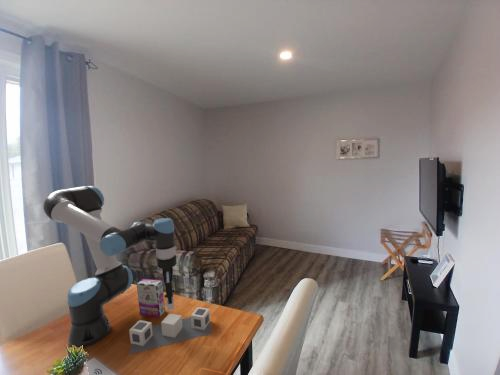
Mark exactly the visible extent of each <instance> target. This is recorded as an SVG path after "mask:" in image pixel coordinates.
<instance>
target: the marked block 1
mask: <svg viewBox="0 0 500 375" xmlns="http://www.w3.org/2000/svg"><path fill="white" fill-rule="evenodd" d="M152 326H153V324H152V322H151V321H146V320H141V319H139V320H138V321H137V322H136V323H135V324H133V326H132V327H131V328H130V329H129V339H130V344H136V345H141V346H144V344H145V343H146V342H147V341H148V340H149V339H150V338H151V337H152V336H153V332H152Z"/></svg>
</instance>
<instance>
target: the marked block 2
mask: <svg viewBox="0 0 500 375" xmlns="http://www.w3.org/2000/svg"><path fill="white" fill-rule="evenodd" d="M190 317H191V323H192V328H195V329H200V330H205V328H206V327H207V325H208V324H209V322H210V323H211V312H210V308H206V307H201V306H200V307H198V306H197V307H196V308H195V309H194V311H193V312H192V313H191V314H190Z"/></svg>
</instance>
